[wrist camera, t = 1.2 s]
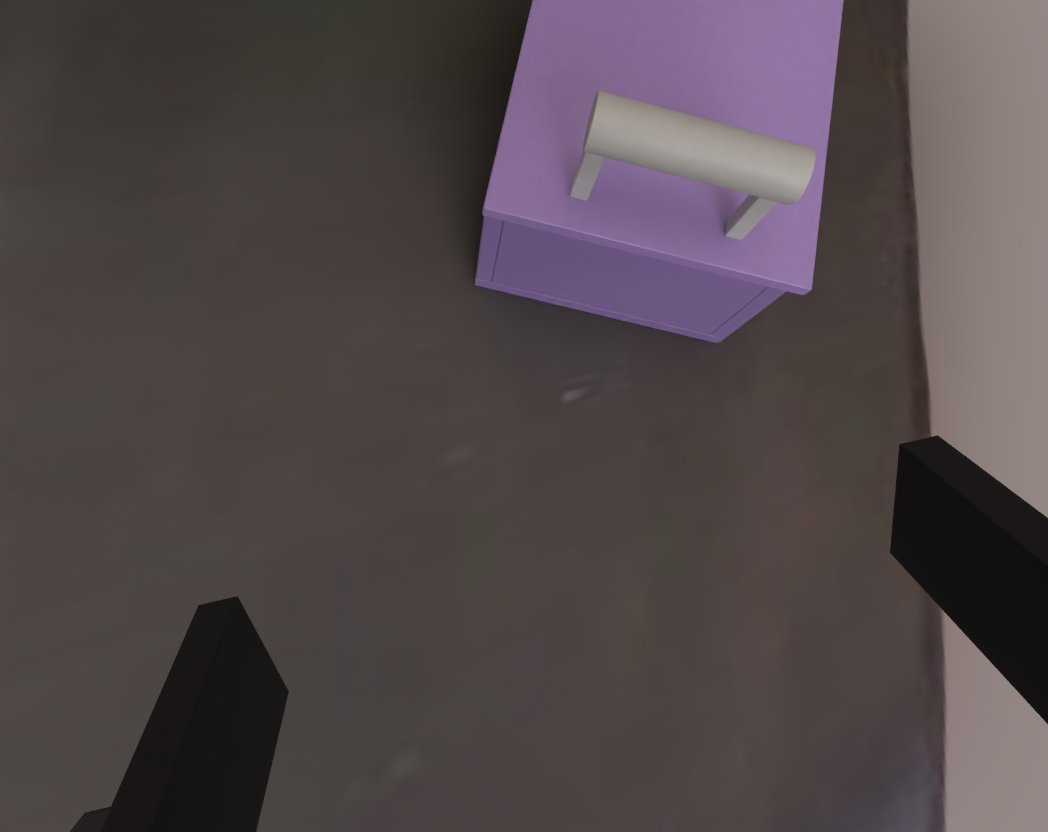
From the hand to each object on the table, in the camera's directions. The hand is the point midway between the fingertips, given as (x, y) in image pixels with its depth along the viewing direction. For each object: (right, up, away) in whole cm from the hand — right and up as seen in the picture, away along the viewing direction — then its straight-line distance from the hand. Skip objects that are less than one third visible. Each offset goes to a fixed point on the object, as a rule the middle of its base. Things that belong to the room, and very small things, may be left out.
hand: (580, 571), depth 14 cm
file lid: (+5, +17, +14) cm, 23 cm away
